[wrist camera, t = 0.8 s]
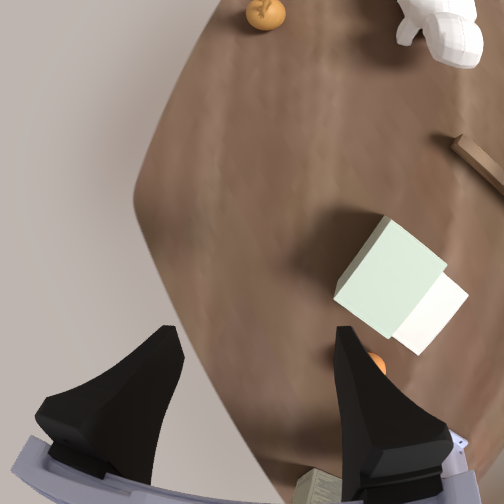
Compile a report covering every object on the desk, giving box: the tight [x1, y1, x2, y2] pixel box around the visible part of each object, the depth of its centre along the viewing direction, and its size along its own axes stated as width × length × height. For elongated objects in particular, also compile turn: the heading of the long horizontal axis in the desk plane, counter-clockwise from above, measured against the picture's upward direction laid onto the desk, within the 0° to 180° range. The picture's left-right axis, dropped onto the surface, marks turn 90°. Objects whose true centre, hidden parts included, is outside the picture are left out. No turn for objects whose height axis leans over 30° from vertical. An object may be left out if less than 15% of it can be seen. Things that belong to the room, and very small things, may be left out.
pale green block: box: [333, 215, 447, 339], centre depth 24 cm, size 6×8×6 cm
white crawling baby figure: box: [396, 0, 483, 69], centre depth 17 cm, size 9×8×15 cm
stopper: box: [450, 134, 504, 196], centre depth 21 cm, size 12×1×2 cm, turn 57°
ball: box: [369, 353, 386, 374], centre depth 27 cm, size 4×4×4 cm
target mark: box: [392, 272, 469, 356], centre depth 26 cm, size 8×8×1 cm
